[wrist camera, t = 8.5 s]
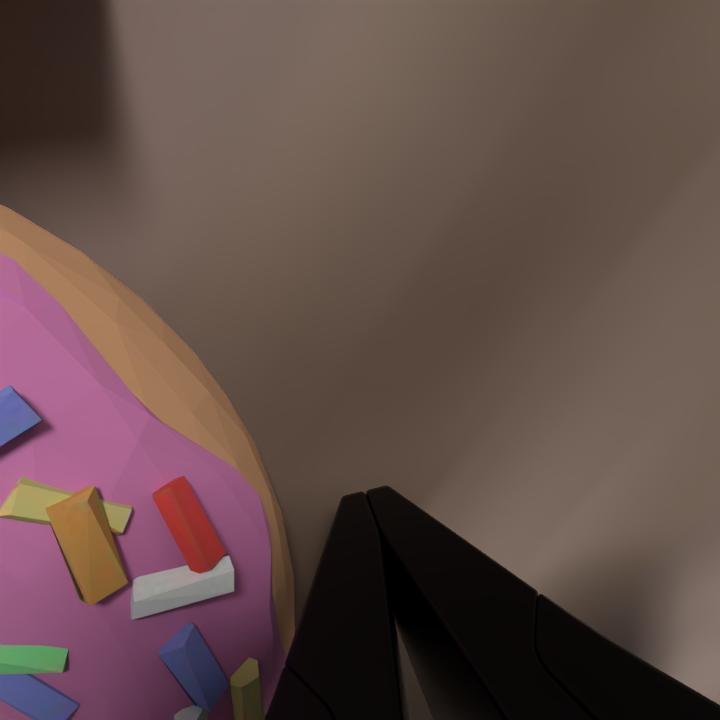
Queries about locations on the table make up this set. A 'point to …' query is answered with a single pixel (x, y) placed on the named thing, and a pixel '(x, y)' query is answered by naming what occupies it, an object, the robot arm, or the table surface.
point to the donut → (125, 509)
